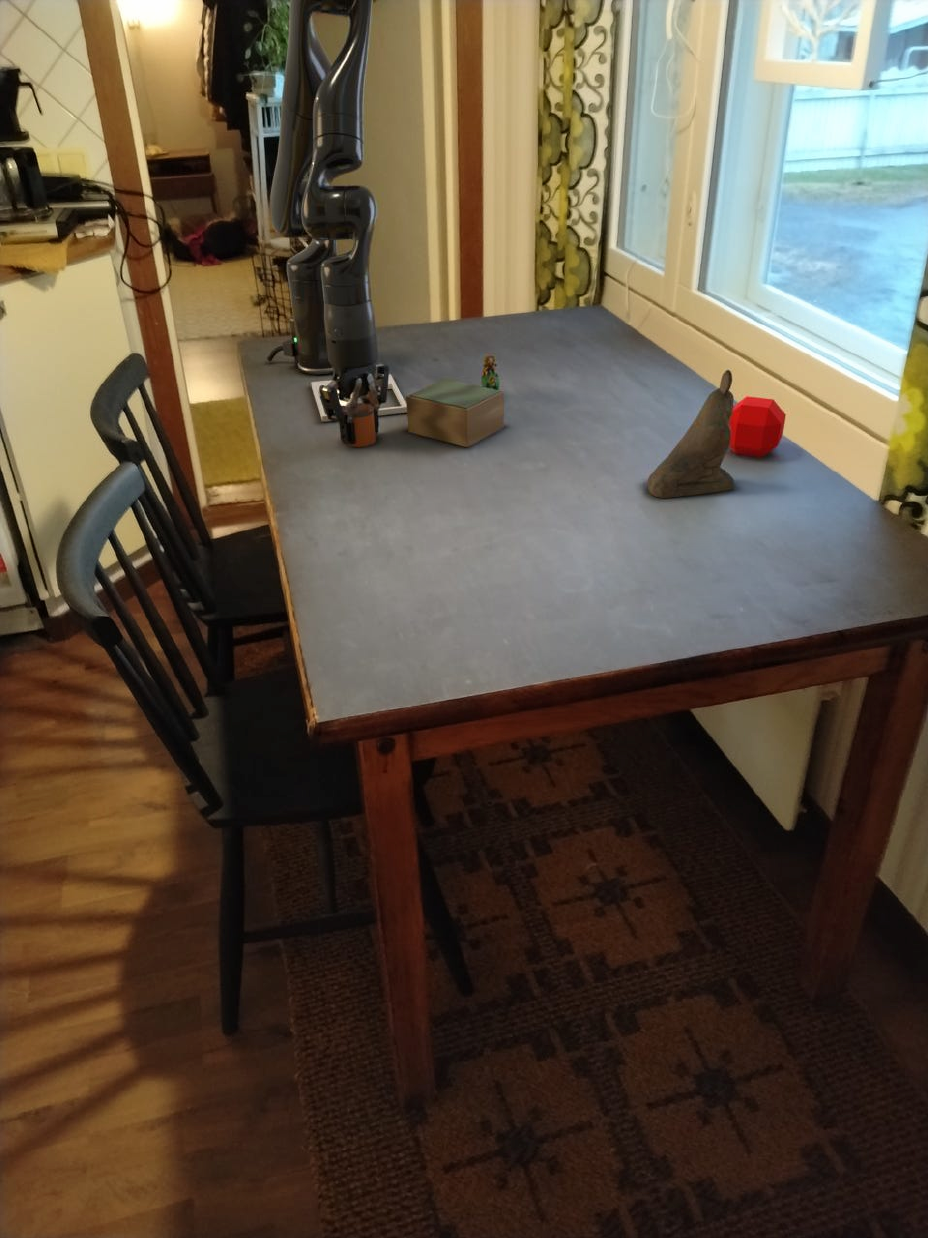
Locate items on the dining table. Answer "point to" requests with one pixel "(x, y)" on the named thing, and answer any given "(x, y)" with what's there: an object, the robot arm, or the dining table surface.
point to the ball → (756, 426)
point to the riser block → (455, 412)
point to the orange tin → (363, 425)
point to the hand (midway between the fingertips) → (360, 437)
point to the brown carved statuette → (699, 451)
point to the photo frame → (390, 386)
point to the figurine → (490, 374)
